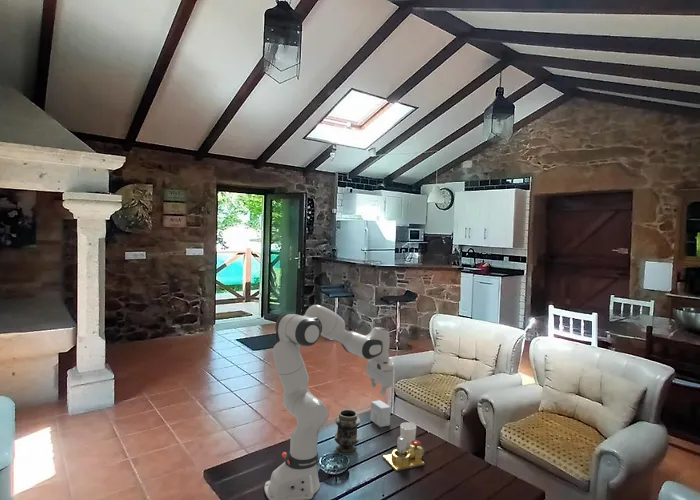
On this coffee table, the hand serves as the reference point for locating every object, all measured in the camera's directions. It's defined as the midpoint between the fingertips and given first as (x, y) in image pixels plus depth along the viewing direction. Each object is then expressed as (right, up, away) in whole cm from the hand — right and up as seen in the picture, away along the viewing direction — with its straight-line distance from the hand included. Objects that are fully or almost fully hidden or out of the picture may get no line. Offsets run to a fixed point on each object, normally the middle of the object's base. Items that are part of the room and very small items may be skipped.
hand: (378, 390), depth 207 cm
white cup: (+15, -31, +12) cm, 37 cm away
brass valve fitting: (+13, -32, -3) cm, 34 cm away
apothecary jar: (-15, -30, +6) cm, 34 cm away
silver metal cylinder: (+10, -31, -4) cm, 33 cm away
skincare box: (+3, -29, +36) cm, 46 cm away
